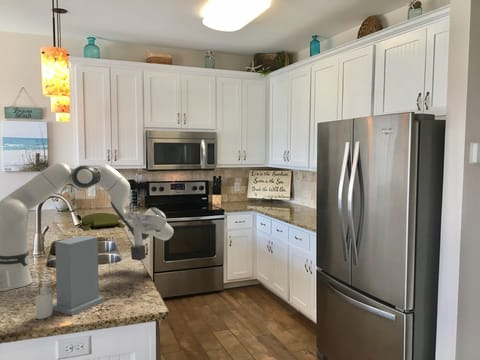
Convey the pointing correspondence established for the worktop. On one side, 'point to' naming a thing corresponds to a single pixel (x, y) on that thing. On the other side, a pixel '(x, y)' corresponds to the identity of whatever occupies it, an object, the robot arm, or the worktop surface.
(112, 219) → the olive green cushion
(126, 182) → the robot arm
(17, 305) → the worktop surface
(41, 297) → the eye dropper bottle
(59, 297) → the stand
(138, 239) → the knobbed shaft
